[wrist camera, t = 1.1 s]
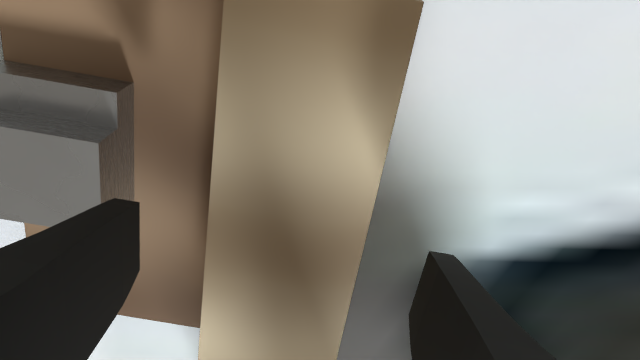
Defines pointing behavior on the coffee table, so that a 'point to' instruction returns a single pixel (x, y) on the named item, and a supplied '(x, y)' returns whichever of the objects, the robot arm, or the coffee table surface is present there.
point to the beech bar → (297, 169)
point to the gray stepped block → (62, 142)
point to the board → (145, 121)
